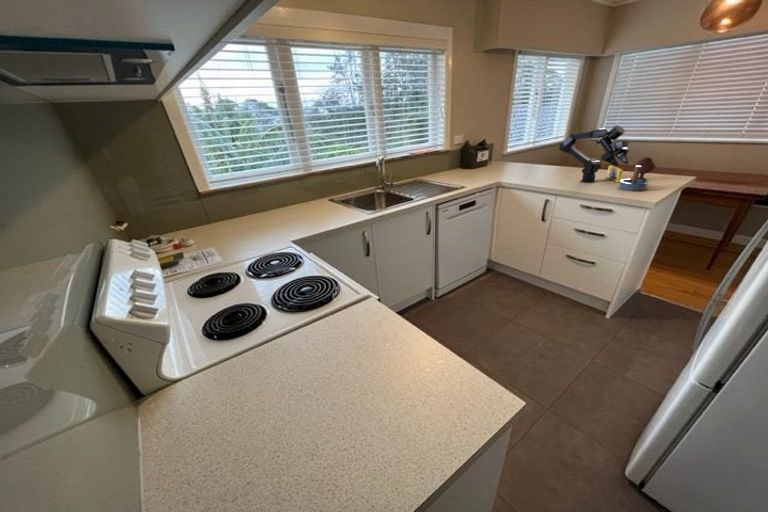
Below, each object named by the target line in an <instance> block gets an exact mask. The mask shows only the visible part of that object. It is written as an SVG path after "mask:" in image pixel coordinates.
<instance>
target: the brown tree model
mask: <svg viewBox="0 0 768 512" xmlns="http://www.w3.org/2000/svg"><path fill="white" fill-rule="evenodd" d="M636 166H641V169H640V172H639V175H640V176H638V179H640V180H645V181H647V178H645V177H644V176H645V174H648V173H650V172H652V171H654V170H655V169H656V166H657V165H656V164H655V163H654V162H653V158H652V157H650V156H646V157H642V158H641V159H639V160H638V161H637V162H636V163H635V164H633V168H634V170H635V167H636Z"/></svg>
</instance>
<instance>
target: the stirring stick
mask: <svg viewBox="0 0 768 512" xmlns="http://www.w3.org/2000/svg"><path fill="white" fill-rule="evenodd" d="M640 169H641V166H636V167H635V169H634V170H633V174H632V177H631V179H632V181H631V183H633V184H636V183H637V179H638V178H639V177H640V176H639V175H640V173H639V172H640Z"/></svg>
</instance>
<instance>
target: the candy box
mask: <svg viewBox="0 0 768 512" xmlns="http://www.w3.org/2000/svg"><path fill="white" fill-rule="evenodd" d="M623 171H624V170H623V169H621V168H619V167H618V166H615V165H613V164H611V165H608V168H607V172H606V178H608V179H610V180H612V181H614V182H615V183H620V181H621V180H622V174H623Z"/></svg>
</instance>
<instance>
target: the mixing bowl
mask: <svg viewBox="0 0 768 512" xmlns="http://www.w3.org/2000/svg"><path fill="white" fill-rule="evenodd" d="M631 181H632V178H624V179H621V180H620V182H619V184H618V188H619V189H620V190H623V191H628V192H641V191H645V190H647V189H648V185H649V181H648V180H640V179H637V183H636V184H633V183H631Z"/></svg>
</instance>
